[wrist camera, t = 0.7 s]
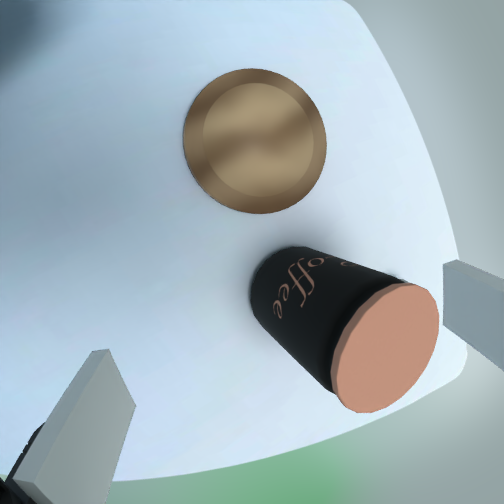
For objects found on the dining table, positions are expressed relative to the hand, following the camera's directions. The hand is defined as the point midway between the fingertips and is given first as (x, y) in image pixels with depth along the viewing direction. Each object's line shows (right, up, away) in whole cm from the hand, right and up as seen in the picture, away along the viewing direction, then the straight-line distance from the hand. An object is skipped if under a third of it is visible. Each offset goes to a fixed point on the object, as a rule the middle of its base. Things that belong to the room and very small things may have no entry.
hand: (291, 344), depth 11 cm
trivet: (-1, +15, +22) cm, 27 cm away
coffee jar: (+3, -1, +27) cm, 27 cm away
